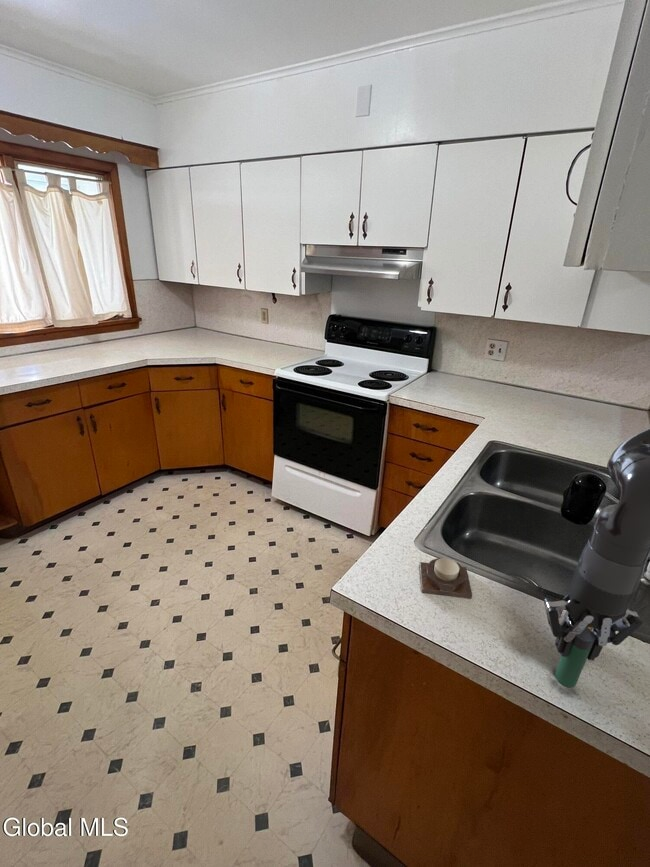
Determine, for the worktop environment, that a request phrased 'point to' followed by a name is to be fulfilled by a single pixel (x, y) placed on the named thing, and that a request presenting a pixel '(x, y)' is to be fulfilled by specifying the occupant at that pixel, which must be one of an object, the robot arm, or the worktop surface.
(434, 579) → the tealight candle holder
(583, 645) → the cylinder
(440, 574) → the dot pad
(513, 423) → the worktop surface
